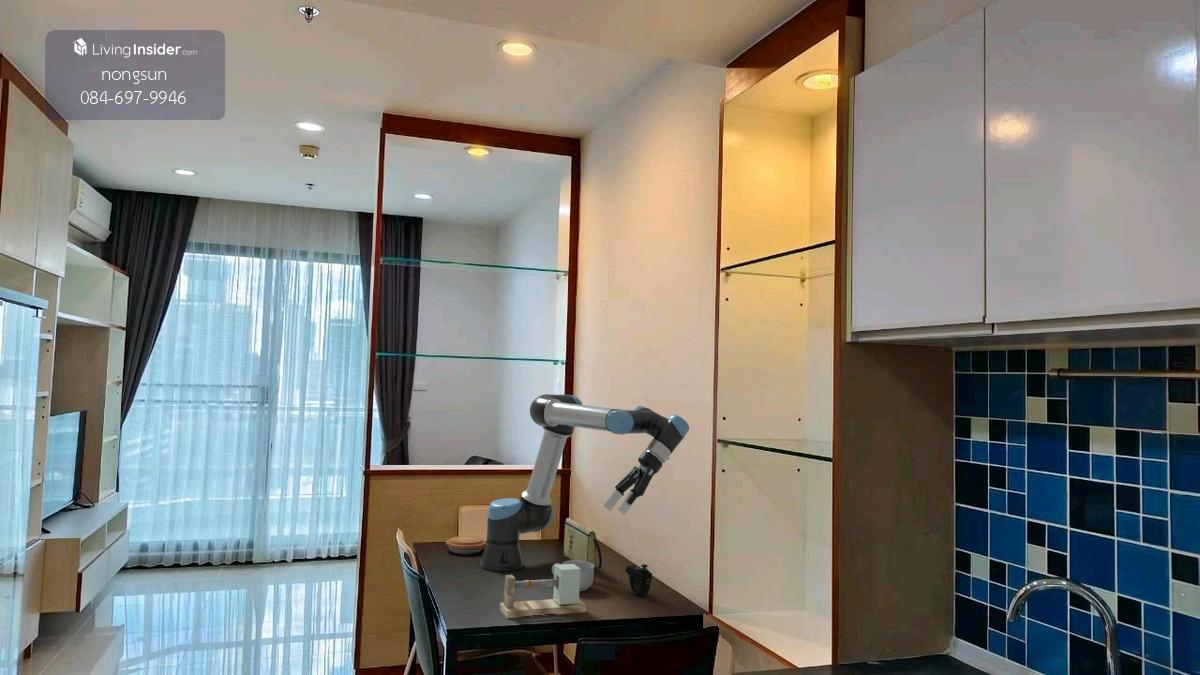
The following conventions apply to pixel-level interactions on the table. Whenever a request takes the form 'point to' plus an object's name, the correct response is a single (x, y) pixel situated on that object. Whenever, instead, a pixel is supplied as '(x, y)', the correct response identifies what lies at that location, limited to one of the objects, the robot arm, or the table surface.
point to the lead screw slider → (536, 606)
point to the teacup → (582, 572)
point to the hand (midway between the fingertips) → (613, 510)
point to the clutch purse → (580, 543)
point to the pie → (465, 544)
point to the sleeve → (567, 584)
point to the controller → (639, 579)
